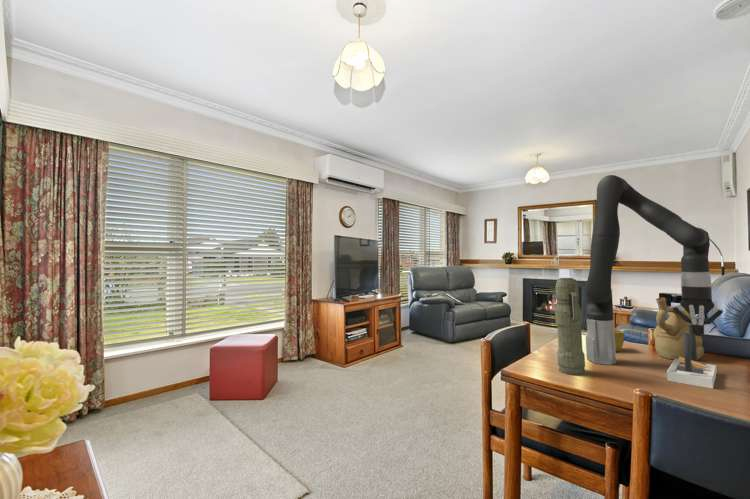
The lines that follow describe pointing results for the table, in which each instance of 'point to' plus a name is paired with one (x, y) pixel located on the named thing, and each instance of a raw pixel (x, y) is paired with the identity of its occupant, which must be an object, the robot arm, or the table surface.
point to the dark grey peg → (687, 352)
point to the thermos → (569, 327)
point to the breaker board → (692, 374)
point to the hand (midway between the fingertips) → (698, 335)
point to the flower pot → (618, 339)
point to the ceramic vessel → (672, 333)
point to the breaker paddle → (693, 363)
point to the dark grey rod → (692, 344)
